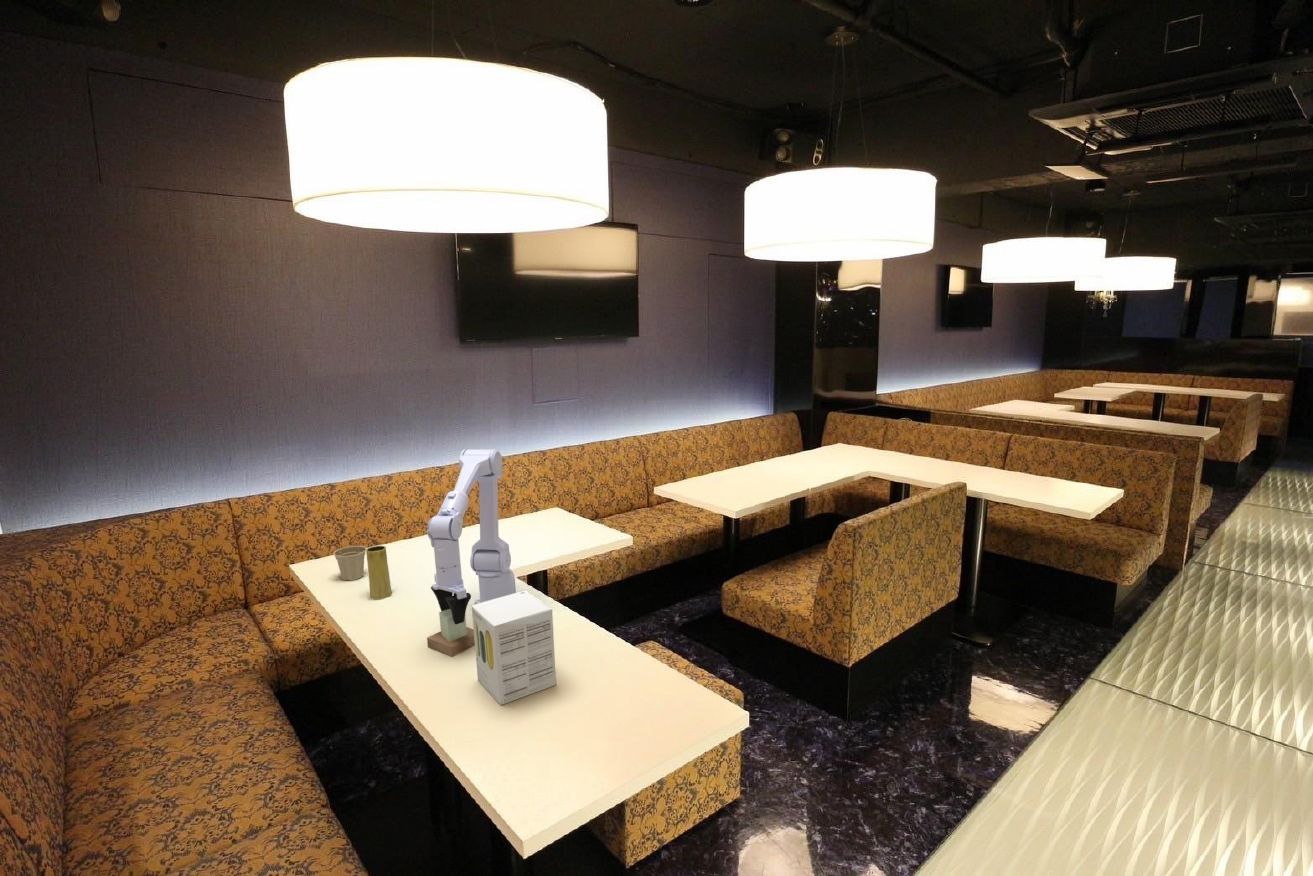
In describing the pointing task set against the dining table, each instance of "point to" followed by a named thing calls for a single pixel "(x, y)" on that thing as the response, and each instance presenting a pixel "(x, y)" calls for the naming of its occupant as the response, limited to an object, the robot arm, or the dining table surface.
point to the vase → (378, 572)
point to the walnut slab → (451, 643)
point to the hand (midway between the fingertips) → (452, 617)
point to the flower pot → (351, 562)
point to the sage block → (451, 626)
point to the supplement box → (514, 646)
